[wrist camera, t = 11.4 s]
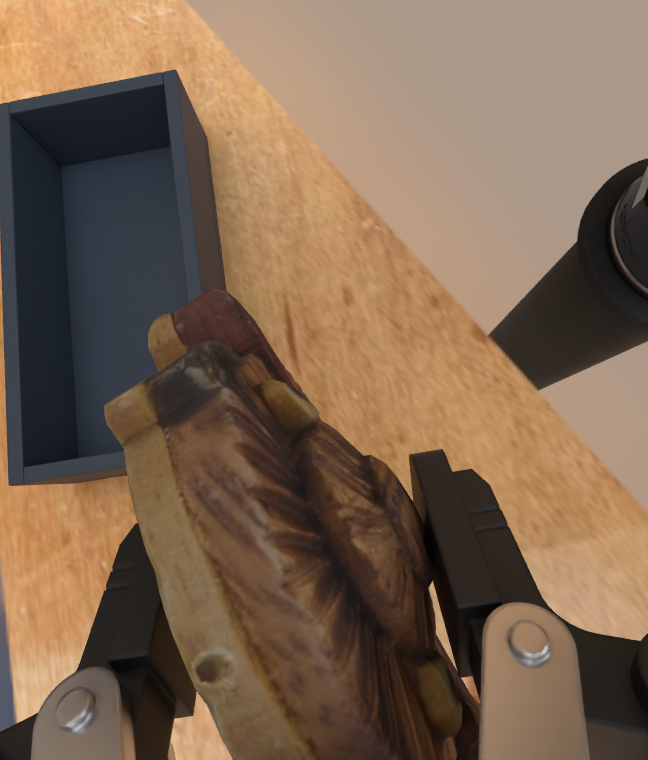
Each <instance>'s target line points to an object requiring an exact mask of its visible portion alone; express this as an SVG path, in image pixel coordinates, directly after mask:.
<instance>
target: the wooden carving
mask: <svg viewBox="0 0 648 760" xmlns="http://www.w3.org/2000/svg"><path fill="white" fill-rule="evenodd" d="M148 348H149V350H150V352H151V355H152V357H153V359H154V361H155V364H156V366H157V368H158V370H159V373H157V374H156V375H153V376H151V377H148V378H146V379H145V380H143V381H141V382H139V383H138V384H136V385H134V386H133V387H131V388H130V389H128V390H126V391H125V392H123V393H121V394H120V395H118V396H117V397H115V398H114V399H112V400H111V401H109V402H107V403H106V404H105V406H104V415H105V418H106V422H107V425H108V426H109V428H110V429H111V431H112V432H113V433H114V435H115V436H116V438H117V439H118V441H119V442H120V444H121V445H122V447H123V448H124V453H125V462H126V470H127V476H128V482H129V487H130V492H131V497H132V502H133V507H134V511H135V515H136V518H137V521H138V525H139V528H140V531H141V535H142V538H143V541H144V545H145V548H146V552H147V554H148V556H149V559H150V561H151V563H152V566H153V568H154V570H155V573H156V578H157V583H158V588H159V593H160V596H161V600H162V603H163V607H164V610H165V614H166V617H167V620H168V623H169V626H170V629H171V632H172V634H173V637H174V639H175V642H176V644H177V647H178V649H179V651H180V654H181V656H182V659H183V661H184V663H185V666H186V668H187V671H188V673H189V675H190V678H191V680H192V682H193V685H194V687H195V689H196V690H197V692H198V693H199V695H200V696H201V697H202V699H203V700H204V701H205V703H206V704H207V705H208V708H209V710H210V712H211V715H212V717H213V719H214V722H215V724H216V726H217V728H218V731H219V733H220V735H221V738H222V740H223V741H224V743H225V745H226V747H227V749H228V751H229V753H230V755H231V756H232V758H233V760H479V730H480V704H479V703H478V702H476V700H475V699H474V698H473V697H472V695H471V694H470V692H469V691H468V689H467V687H466V686H465V684H464V682H463V680H462V679H461V678H459V675H458V672H457V670H456V668H455V667H454V665H453V663H452V662H451V660H450V658H449V657H448V655H447V653H446V651H445V649H444V648H443V646H442V644H441V642H440V640H439V639H438V637H437V635H436V633H435V632H436V624H435V612H434V609H433V602H432V599H431V596H430V593H429V589H428V587H429V586H430V584H431V583H432V580H433V562H432V558H431V554H430V549H429V544H428V540H427V535H426V531H425V528H424V524H423V521H422V519H421V517H420V515H419V513H418V511H417V509H416V507H415V505H414V503H413V501H412V500H411V498H410V497H409V495H408V493H407V492H406V490H405V489H404V487H403V486H402V484H401V483H400V481H399V480H398V478H397V477H396V475H395V474H394V473H393V472H392V471H391V469H390V468H389V467H388V466H387V464H385V463H384V462H382V461H380V460H378V459H377V458H375V457H373V456H371V455H368V456H363V455H362V454H361V453H360V452H359V451H358V450H357V449H356V448H355V447H354V446H353V445H351V444H350V443H349V442H348V441H347V440H346V439H345V438H344V437H343V436H342V435H341V434H340V433H339V432H338V431H337V430H335V429H334V428H332V427H331V426H329V425H328V424H326V423H324V422H323V421H321V419H320V418H319V412H318V411H317V410H316V408H315V407H314V406H313V404H312V403H311V402H310V401H309V399H308V398H307V396H306V395H305V394H304V393H303V392H302V390H301V387H300V386H299V385H298V384H297V383H296V382H295V381H294V379H293V377H292V375H291V374H290V373H289V372H288V371H287V370H286V369H285V367H284V365H283V364H282V363H281V362H280V360H279V359H278V357H277V356H276V354H275V352H274V351H273V349H272V348H271V346H270V345H269V343H268V342H267V340H266V338H265V337H264V335H263V333H262V331H261V330H260V328H259V327H258V325H257V324H256V322H255V321H254V319H253V318H252V317H251V316H250V315H249V313H248V312H247V311H246V310H245V309H244V308H243V307H242V306H241V304H240V303H239V302H238V301H237V300H236V299H235V298H234V297H232V296H231V295H230V294H229V293H227V292H226V291H224V290H221V289H217V288H215V289H210V290H207V291H205V292H203V293H202V294H200V295H199V296H198V297H196V298H195V299H194V300H192V301H191V302H190V303H188V304H187V305H185V306H183V307H182V308H180V309H179V310H177V311H176V312H174V313H169V314H164V315H161V316H160V317H158V318H157V319H156V320H154V321H153V322H152V325H151V328H150V330H149V333H148Z"/></svg>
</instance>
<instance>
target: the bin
mask: <svg viewBox="0 0 648 760" xmlns="http://www.w3.org/2000/svg"><path fill="white" fill-rule="evenodd" d="M0 238H1V268H2V298H3V328H4V358H5V388H6V418H7V448H8V478H9V485H10V486H18V485H43V484H68V483H80V482H86V481H92V480H98V479H104V478H110V477H117V476H123V475H127V470H126V462H125V453H124V448H123V447H122V445H121V444H120V442H119V441H118V439H117V438H116V436H115V435H114V433H113V432H112V431H111V429H110V428H109V426H108V425H107V422H106V418H105V415H104V406H105V404H106V403H107V402H109V401H111V400H112V399H114V398H115V397H117V396H118V395H120V394H121V393H123V392H125V391H126V390H128V389H130V388H131V387H133V386H134V385H136V384H138V383H139V382H141V381H143V380H145V379H146V378H148V377H151V376H153V375H156V374H157V373H159V370H158V368H157V366H156V364H155V361H154V359H153V357H152V355H151V352H150V350H149V348H148V333H149V330H150V328H151V325H152V322H153V321H154V320H156V319H157V318H158V317H160V316H161V315H164V314H169V313H174V312H176V311H177V310H179V309H180V308H182V307H183V306H185V305H187V304H188V303H190V302H191V301H192V300H194V299H195V298H196V297H198V296H199V295H200V294H202V293H203V292H205V291H207V290H210V289H215V288H217V289H221V290H224V291H226V285H225V277H224V269H223V261H222V253H221V245H220V237H219V230H218V222H217V214H216V206H215V198H214V190H213V182H212V174H211V166H210V159H209V151H208V143H207V137H206V135H205V132H204V131H203V128H202V126H201V124H200V121H199V119H198V117H197V115H196V113H195V110H194V108H193V106H192V104H191V102H190V99H189V97H188V95H187V93H186V91H185V88H184V86H183V84H182V82H181V80H180V77H179V75H178V73H177V71H176V70H170V71H165V72H163V73H162V72H160V73H155V74H150V75H145V76H140V77H135V78H130V79H124V80H119V81H114V82H109V83H104V84H99V85H94V86H89V87H84V88H79V89H73V90H68V91H63V92H58V93H53V94H48V95H43V96H38V97H33V98H28V99H23V100H17V101H12V102H10V103H3V104H0Z"/></svg>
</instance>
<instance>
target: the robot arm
mask: <svg viewBox="0 0 648 760" xmlns="http://www.w3.org/2000/svg"><path fill="white" fill-rule="evenodd" d="M606 245H607V250H608V254H609V257H610V260H611V262H612V264H613V266H614V268H615V270H616V271H617V273H618V274H619V276H620V277H621V278H622V280H623V281H624V282H625V283H626V284H627V285H628V286H629V287H630V288H631V289H632V290H633V291H635V292H636V293H637V294H638V295H640V296H641V297H643V298H644V299H646V300H648V166H647V169H646V172H645V173H644V174H643V175H642V176H641V177H640V178H638V179H637V180H636V181H635V182H633V183H632V184H631V185H630V186H629V187H628V188H627V189H626V190H625V191H624V193H623V194H622V195H621V196H620V197H619V198H618V200H617V201H616V202H615V204H614V206H613V207H612V210H611V212H610V214H609V217H608V221H607V225H606ZM409 463H410V473H411V483H412V494H413V503H414V505H415V507H416V509H417V511H418V513H419V515H420V517H421V519H422V521H423V524H424V528H425V531H426V535H427V540H428V544H429V549H430V554H431V558H432V562H433V583H434V587H435V590H436V594H437V598H438V601H439V605H440V609H441V612H442V616H443V620H444V623H445V627H446V631H447V634H448V638H449V642H450V645H451V649H452V653H453V656H454V660H455V664H456V667H457V671H458V675H459V678H461V677H468V676H473V679H474V682H475V685H476V689H477V692H478V696H479V699H480V730H479V760H648V634H646V635H645V636H644V638H643V639H642V640H641V641H636V640H630V639H625V638H619V637H613V636H607V635H602V634H596V633H592V632H588V631H585V630H582V629H580V628H578V627H576V626H574V625H572V624H570V623H568V622H567V621H565V620H563V619H562V618H561V617H559V616H558V615H557V614H556V613H555V612H554V611H553V610H552V609H551V608H550V607H549V606H548V605H547V604H546V602H545V601H544V600H543V598H542V596H541V594H540V592H539V590H538V588H537V586H536V584H535V582H534V580H533V577H532V575H531V573H530V571H529V569H528V567H527V564H526V562H525V560H524V558H523V556H522V554H521V552H520V549H519V547H518V545H517V543H516V541H515V539H514V536H513V534H512V532H511V530H510V528H509V527H508V525H507V521H506V519H505V517H504V515H503V513H502V511H501V510H500V508H499V504H498V502H497V500H496V498H495V495H494V493H493V491H492V489H491V487H490V485H489V484H488V483H487V482H486V481H485V480H484V479H482V478H481V477H480V476H479V475H478V474H477V473H476V472H475V471H474V470H472V469H468V470H462V471H456V472H452V470H451V468H450V465H449V463H448V460H447V457H446V455H445V453H444V451H443V450H442V449H439V450H433V451H427V452H421V453H415V454H410V455H409ZM112 568H113V571H112V572H111V573H110V576H109V579H108V582H107V584H106V591H104V593H103V596H102V599H101V602H100V605H99V608H98V611H97V614H96V617H95V620H94V623H93V626H92V629H91V632H90V635H89V638H88V640H87V643H86V646H85V649H84V652H83V655H82V658H81V661H80V664H79V666H78V669H77V671H76V672H75V673H73V674H72V675H70V676H69V677H67V678H66V679H64V680H63V681H62V682H61V683H60V684H59V685H58V686H56V688H55V689H54V690H53V691H52V692H51V693H50V694H49V696H48V697H47V698H46V700H45V701H44V703H43V705H42V706H41V708H40V710H39V712H38V713H37V714H35V715H33V716H31V717H29V718H27V719H25V720H23V721H21V722H19V723H17V724H15V725H13V726H11V727H9V728H7V729H5V730H3V731H1V732H0V760H176V759H175V753H174V748H173V746H172V744H171V742H170V739H171V733H172V728H173V722H174V718H181V717H188V716H193V713H194V706H195V699H196V692H197V690H196V689H195V687H194V685H193V682H192V680H191V678H190V675H189V673H188V671H187V668H186V666H185V663H184V661H183V659H182V656H181V654H180V651H179V649H178V647H177V644H176V642H175V639H174V637H173V634H172V632H171V629H170V626H169V623H168V620H167V617H166V614H165V610H164V607H163V603H162V600H161V596H160V593H159V588H158V583H157V578H156V573H155V570H154V568H153V566H152V563H151V561H150V559H149V556H148V554H147V552H146V548H145V545H144V541H143V538H142V535H141V531H140V528H139V525H138V523H137V524H135V525H134V527H133V528H132V529H131V531H130V532H129V533H128V535H127V536H126V537H125V539H124V540H123V541H122V543H121V544H120V546H119V549H118V552H117V555H116V558H115V561H114V564H113V567H112Z"/></svg>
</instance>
